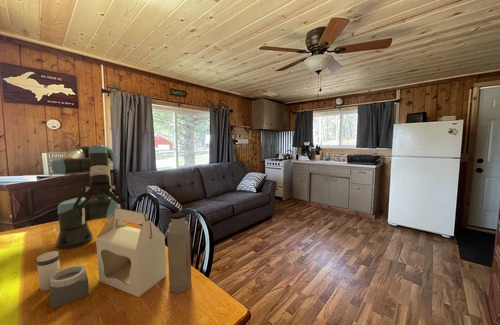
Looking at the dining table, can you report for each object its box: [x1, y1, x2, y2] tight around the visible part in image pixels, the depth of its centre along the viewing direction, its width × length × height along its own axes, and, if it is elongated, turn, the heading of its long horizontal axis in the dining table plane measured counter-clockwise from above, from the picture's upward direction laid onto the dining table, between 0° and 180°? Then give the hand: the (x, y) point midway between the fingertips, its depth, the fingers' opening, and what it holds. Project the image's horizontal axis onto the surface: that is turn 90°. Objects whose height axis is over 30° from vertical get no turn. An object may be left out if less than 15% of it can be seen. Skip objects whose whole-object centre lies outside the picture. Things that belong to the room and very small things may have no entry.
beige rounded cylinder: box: [36, 250, 61, 292], centre depth 81 cm, size 6×6×12 cm
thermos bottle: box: [166, 212, 192, 294], centre depth 80 cm, size 8×8×28 cm
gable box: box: [95, 208, 167, 298], centre depth 84 cm, size 22×13×28 cm, turn 67°
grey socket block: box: [48, 264, 90, 310], centre depth 77 cm, size 10×10×8 cm
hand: (102, 221), depth 97 cm, fingers open, 13 cm apart
